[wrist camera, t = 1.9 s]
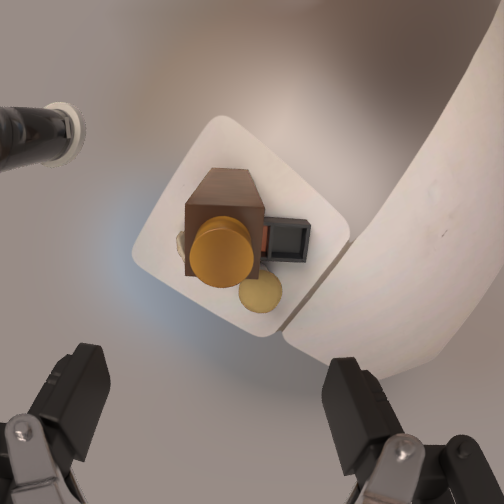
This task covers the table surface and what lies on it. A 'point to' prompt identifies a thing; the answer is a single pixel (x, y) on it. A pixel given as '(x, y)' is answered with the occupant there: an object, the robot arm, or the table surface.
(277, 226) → the dark grey open box
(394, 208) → the table surface
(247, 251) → the cylinder
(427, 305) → the table surface
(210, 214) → the block
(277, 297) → the light bulb
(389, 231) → the table surface
